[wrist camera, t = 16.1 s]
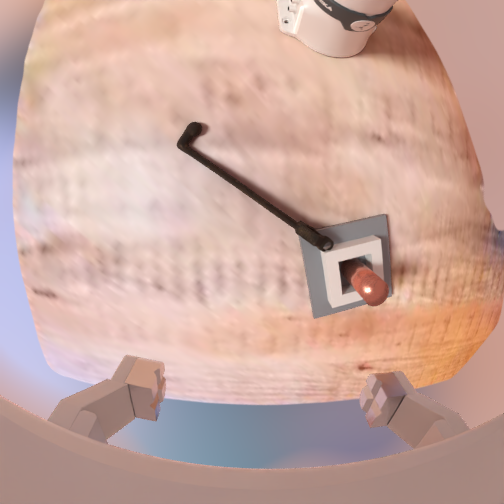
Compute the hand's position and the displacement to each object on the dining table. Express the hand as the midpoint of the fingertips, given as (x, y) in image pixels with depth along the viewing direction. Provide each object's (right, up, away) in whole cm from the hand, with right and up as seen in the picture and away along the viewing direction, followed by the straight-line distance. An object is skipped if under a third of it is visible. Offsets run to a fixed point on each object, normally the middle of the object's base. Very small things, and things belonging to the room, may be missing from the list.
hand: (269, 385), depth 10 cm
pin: (+17, +2, +37) cm, 41 cm away
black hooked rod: (+1, +16, +34) cm, 38 cm away
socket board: (+17, +2, +38) cm, 42 cm away
